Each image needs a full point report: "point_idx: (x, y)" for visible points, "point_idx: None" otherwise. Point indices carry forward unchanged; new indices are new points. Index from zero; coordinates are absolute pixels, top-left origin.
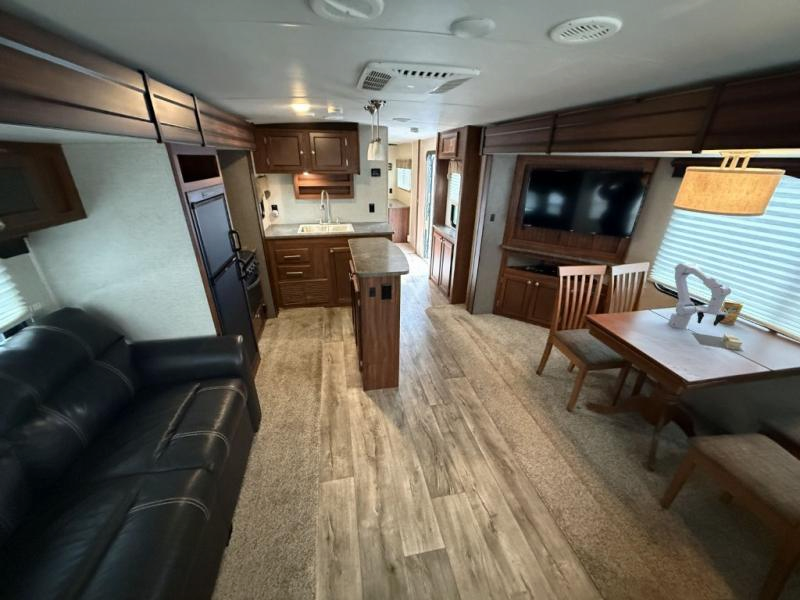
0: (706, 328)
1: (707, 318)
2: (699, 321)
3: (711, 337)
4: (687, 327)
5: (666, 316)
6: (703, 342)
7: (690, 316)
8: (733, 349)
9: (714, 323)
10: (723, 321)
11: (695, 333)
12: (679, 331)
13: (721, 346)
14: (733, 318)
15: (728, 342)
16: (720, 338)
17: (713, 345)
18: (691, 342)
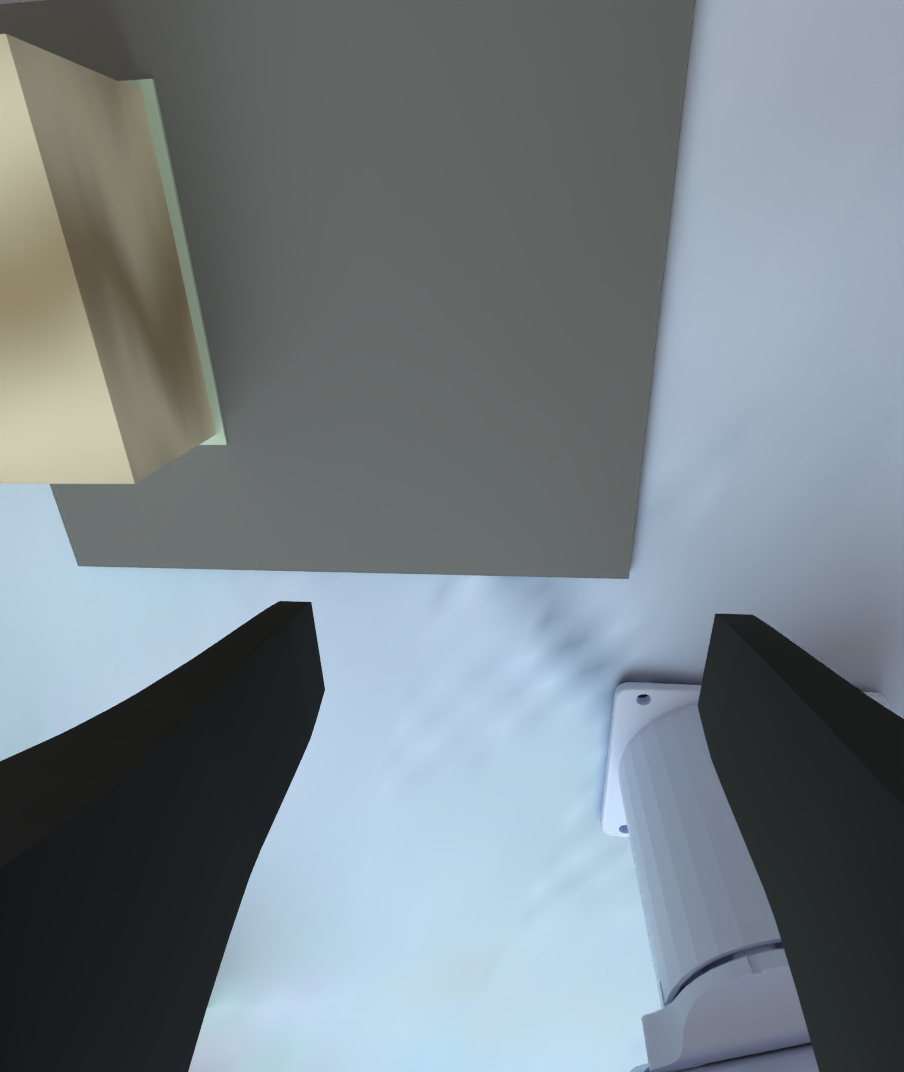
0: (344, 795)
1: (280, 1011)
2: (810, 657)
3: (349, 498)
4: (618, 737)
5: None
6: (569, 143)
7: (723, 974)
8: (51, 36)
9: (296, 688)
10: None
11: (568, 563)
12: (819, 563)
13: (251, 92)
14: None
15: (94, 149)
16: (221, 516)
17: (400, 57)
18: (849, 24)
